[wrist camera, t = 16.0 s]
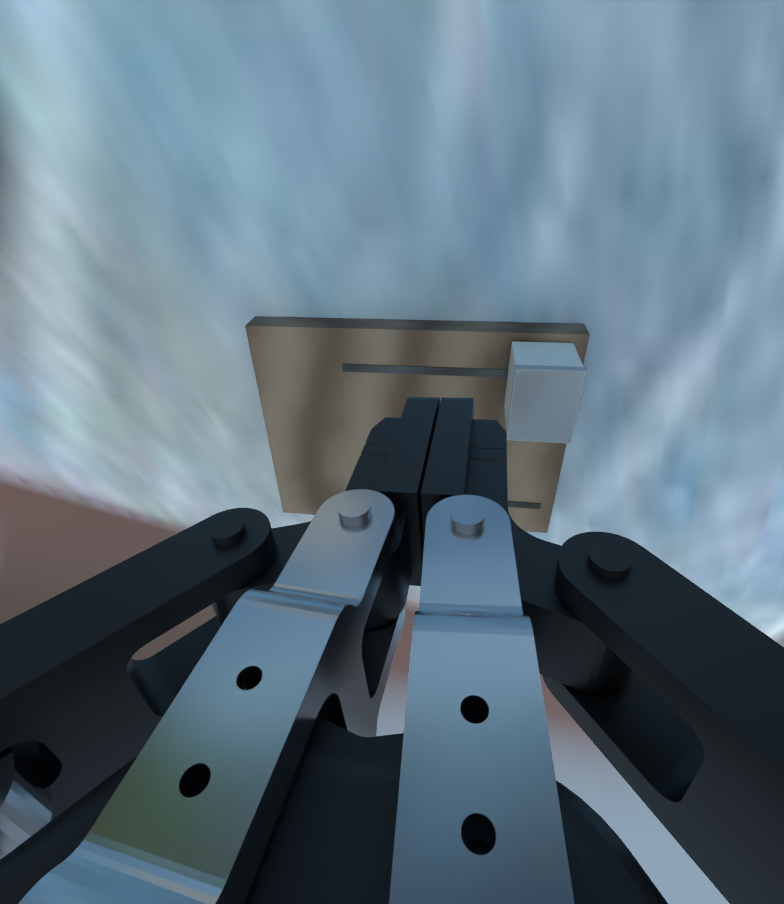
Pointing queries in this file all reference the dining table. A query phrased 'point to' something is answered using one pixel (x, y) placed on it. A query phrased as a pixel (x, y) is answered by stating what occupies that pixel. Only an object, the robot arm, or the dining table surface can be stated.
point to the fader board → (390, 396)
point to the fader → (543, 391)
